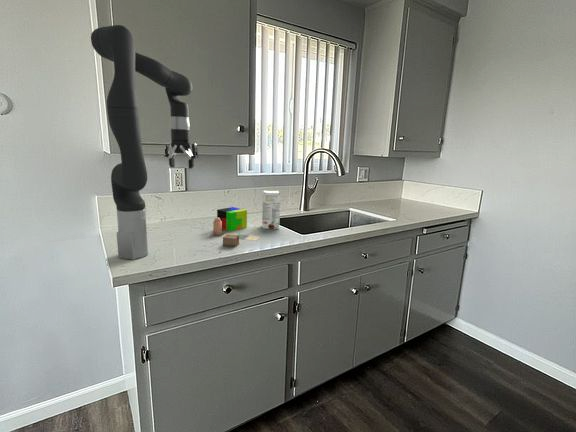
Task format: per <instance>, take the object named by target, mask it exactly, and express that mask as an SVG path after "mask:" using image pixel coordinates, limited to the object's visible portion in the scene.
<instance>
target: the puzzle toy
mask: <svg viewBox="0 0 576 432" xmlns="http://www.w3.org/2000/svg"><path fill="white" fill-rule="evenodd" d="M217 217H218V218H220V219H221V221H222V230H226V231H229V232H234V231H239V230H242V229H246V228H247V227H248V210H247V209H243V208H239V207H234V206H231V207H225V208H220V209H216V218H217Z"/></svg>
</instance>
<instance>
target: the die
mask: <svg viewBox="0 0 576 432" xmlns="http://www.w3.org/2000/svg"><path fill="white" fill-rule="evenodd" d="M232 234H233V233H230V234H227V235H226V236H224V237H222V246H223V247H226V248H236V247H237V246H238V245H240V239H239V235H238V234H237V235H232Z"/></svg>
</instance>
